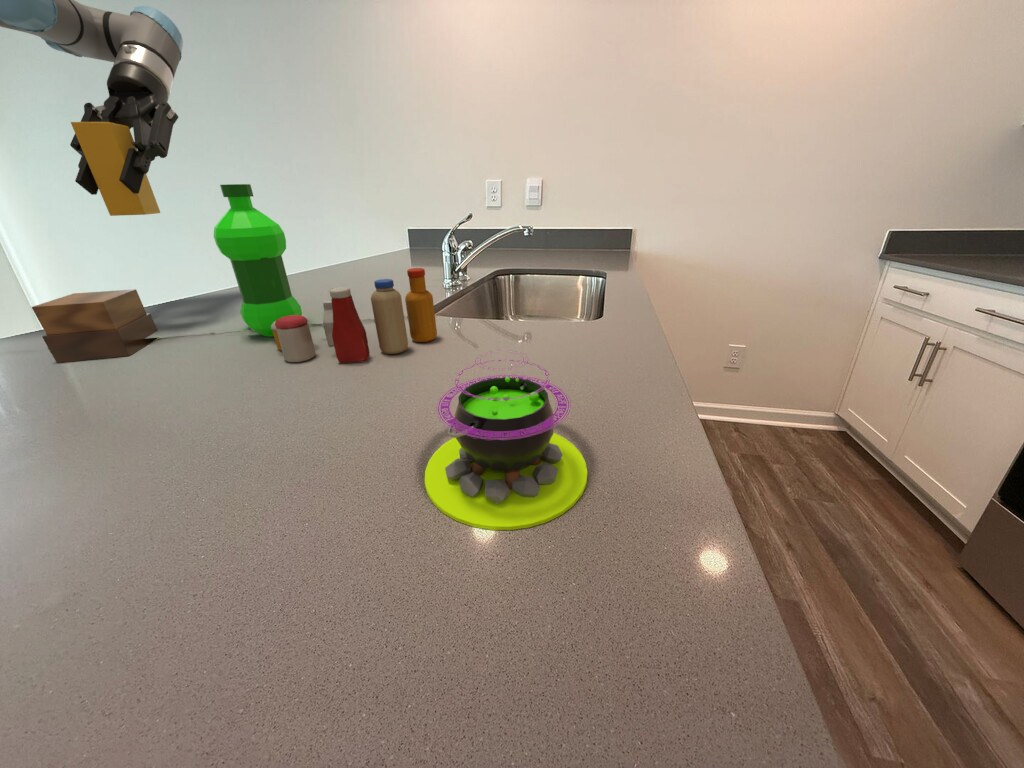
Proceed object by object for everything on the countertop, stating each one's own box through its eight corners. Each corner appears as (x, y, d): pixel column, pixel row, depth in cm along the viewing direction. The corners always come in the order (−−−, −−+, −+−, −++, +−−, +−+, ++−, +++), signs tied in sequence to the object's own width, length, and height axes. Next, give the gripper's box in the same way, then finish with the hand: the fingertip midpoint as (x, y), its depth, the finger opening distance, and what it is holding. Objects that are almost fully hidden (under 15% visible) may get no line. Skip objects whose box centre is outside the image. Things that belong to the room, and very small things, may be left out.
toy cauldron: (484, 414, 47) (478, 322, 42) (609, 449, 40) (620, 345, 35) (388, 490, 36) (365, 376, 31) (542, 559, 29) (543, 426, 24)
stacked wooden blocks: (56, 363, 65) (25, 307, 61) (97, 342, 74) (72, 293, 70) (129, 356, 67) (104, 302, 63) (160, 336, 76) (140, 288, 72)
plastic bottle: (252, 345, 70) (200, 184, 59) (242, 331, 78) (195, 185, 67) (313, 332, 76) (276, 183, 65) (298, 320, 83) (263, 184, 72)
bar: (109, 215, 66) (70, 121, 61) (127, 214, 71) (92, 126, 65) (145, 214, 67) (109, 122, 62) (160, 213, 72) (128, 126, 66)
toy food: (439, 333, 73) (432, 265, 68) (428, 361, 62) (418, 281, 57) (290, 338, 73) (271, 270, 68) (252, 366, 62) (225, 287, 56)
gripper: (63, 61, 67) (17, 169, 60) (180, 60, 68) (150, 166, 61) (104, 105, 74) (68, 206, 67) (210, 103, 75) (186, 203, 68)
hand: (107, 187), depth 64 cm, fingers closed on bar, 6 cm apart
